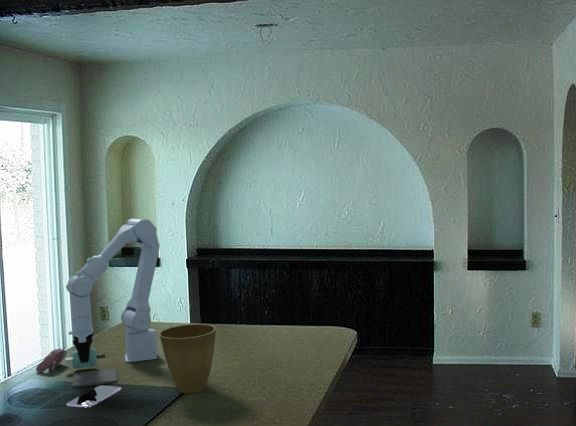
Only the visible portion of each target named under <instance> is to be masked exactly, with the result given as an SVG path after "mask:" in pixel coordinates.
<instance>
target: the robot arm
mask: <svg viewBox="0 0 576 426" xmlns="http://www.w3.org/2000/svg"><path fill="white" fill-rule="evenodd" d="M157 230H158V229H157V227H156V226H155V225H154V223H153V222H152V221H151V220H150V219H146V218H145V219H141V218H137V217H134V218H133V217H132V218H130V219H127V221H126V222H125V223H124V224H123V225H122V226H121V227H120V228H119V230H118V232H116V234H115V235H114V236H113V238H112V239H111V240H110V241H109V242H108V243H107V244H106V246H105V247H104V249H103V250H102V251H101V252H100V254H98V255H93V256H92V257H88V258H87V259H86V263H85V264H84V266H82V268H81V269H80V270H77V271H76V273H75V274H76V275H74V276H73V275H72V276H71V277H70V278H69V279H68V281H67V284H66V285H65V288H66V290H67V291H68V293H69V297H70V299H69V300H70V315H71V316H70V317H71V327H72V329H71V330H68V335H70V336H71V335H72V336H73V339H72V344H73V345H74V347H75V349H76V350H77V351H78V355H79V359H80V362H81V363H86V362H88V361H89V351H90V349H91V346H92V343H93V341H94V340H93V337H94V333H93V332H94V327H93V318H92V317H93V316H92V304H91V297H90V295H91V294H90V293H92V292H93V288H94V287H93V286H94V284H95V283H96V282H97V281H98V280H99V279H100V278H101V276H103V274H104V273H105V272H106V271H107V269H109V261H111V259H112V258H113V257H114V256H115V255H117V253H118V252H119V251H120V250H121V249H122V248H123V247H124V246H126V244H130V243H134V242H135V243H136V244H137V246H138V247H139V248H140V249H141V251H140V256H139V260H138V265H137V270H136V275H135V280H134V284H133V288H132V293H131V298H130V299H129V300H128V302H126V305H125V309H124V310H123V312H122V313H121V317H120V320H121V322H122V324H123V325H124V326H125V328H124V334H125V351H126V352H125V353H126V354H125V355H124V359H125V363H132V362H133V363H134V362H142V361H150V360H157V358H158V356H157V355H158V354H157V353H158V345H157V342H156V341H157V340H156V339H157V338H156V337H157V336H156V330H155V328H150V326H151V323H152V318H151V306H150V305H151V304H150V303H149V301H150V299H149V298H150V295H151V290H152V286H153V280H154V276H155V270H156V267H157V261H158V256H159V252H160V242H159V238H158V236H157V235H158V234H157Z"/></svg>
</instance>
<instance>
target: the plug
mask: <svg viewBox="0 0 576 426" xmlns="http://www.w3.org/2000/svg"><path fill="white" fill-rule="evenodd" d="M100 359H106V353H101V354H97V348H90V351H89V361H88V362H86V363H81V362H80V359H79V355H78V351H77V349H76V350H73V351H72V352H71V357H65V364H72V368H73V369H84V368H93V367H95V366H97V365H98V360H100Z"/></svg>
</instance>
